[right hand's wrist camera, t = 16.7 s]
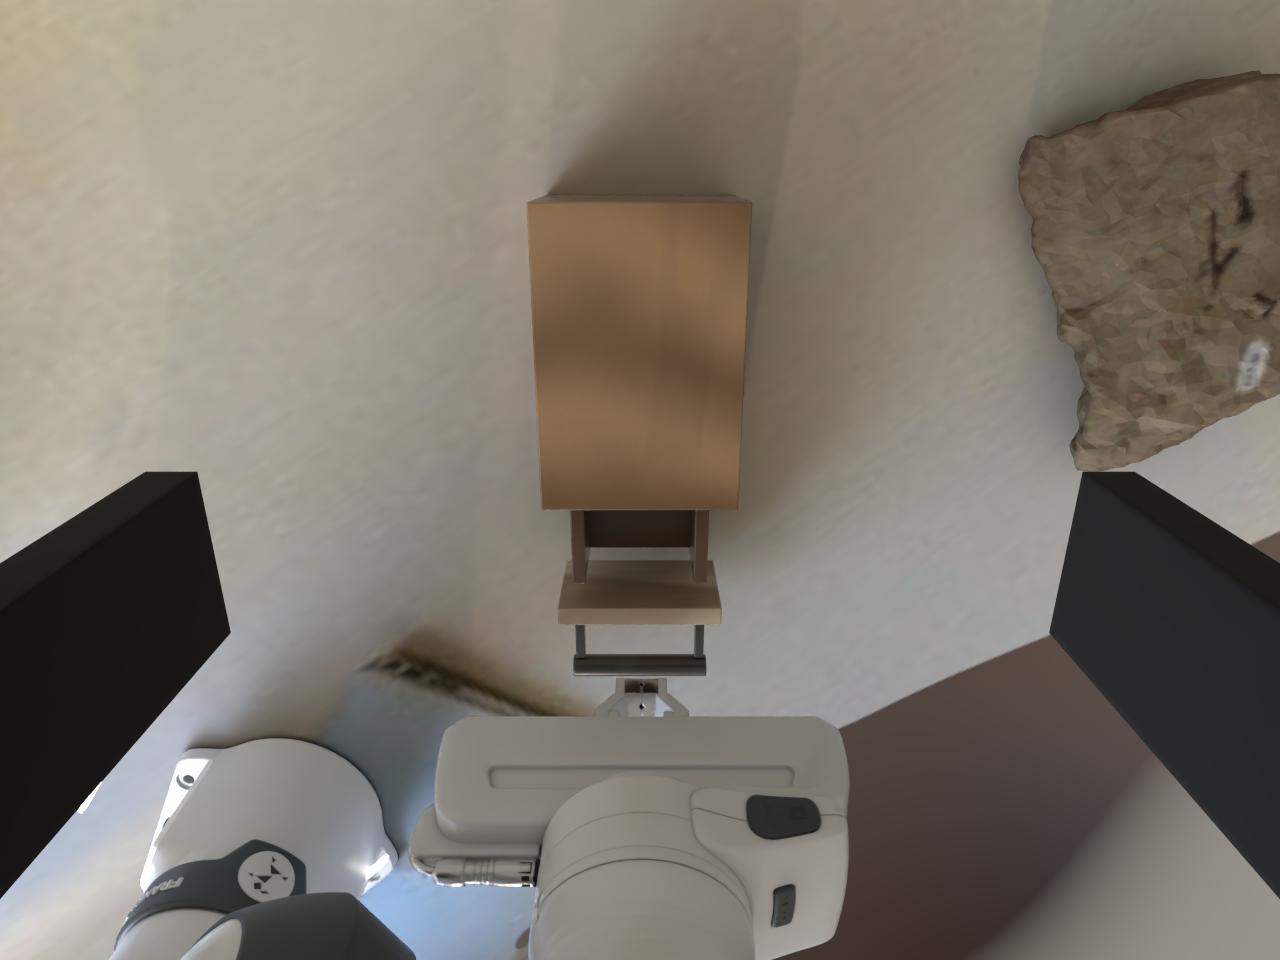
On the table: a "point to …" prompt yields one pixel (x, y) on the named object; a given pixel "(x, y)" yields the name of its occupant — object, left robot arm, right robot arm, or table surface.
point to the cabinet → (639, 349)
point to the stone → (1164, 261)
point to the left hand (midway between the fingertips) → (641, 687)
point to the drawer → (639, 587)
